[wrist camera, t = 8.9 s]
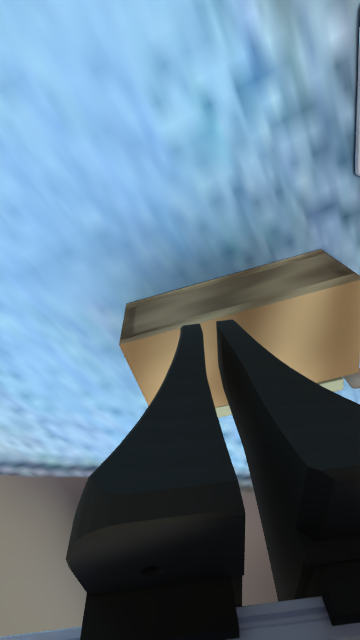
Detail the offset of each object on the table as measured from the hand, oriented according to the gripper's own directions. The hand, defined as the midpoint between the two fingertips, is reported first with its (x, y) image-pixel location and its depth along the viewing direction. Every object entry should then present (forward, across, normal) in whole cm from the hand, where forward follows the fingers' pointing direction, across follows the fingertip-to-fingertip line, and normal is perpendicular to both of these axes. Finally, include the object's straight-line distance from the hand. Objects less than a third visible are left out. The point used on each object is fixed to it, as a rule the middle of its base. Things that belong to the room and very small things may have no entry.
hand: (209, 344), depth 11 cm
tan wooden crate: (+10, -3, +6) cm, 12 cm away
